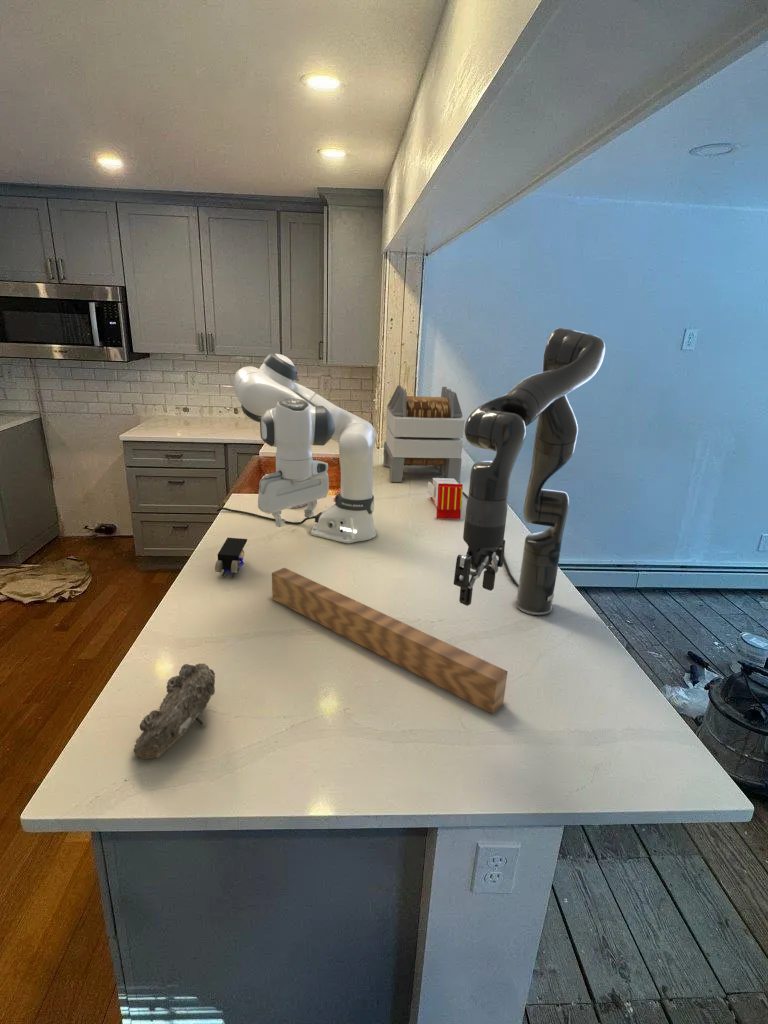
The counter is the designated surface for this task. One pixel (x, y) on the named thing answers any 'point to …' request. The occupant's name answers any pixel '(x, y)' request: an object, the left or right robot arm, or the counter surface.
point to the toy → (446, 497)
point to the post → (394, 640)
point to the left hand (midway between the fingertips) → (294, 521)
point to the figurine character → (230, 556)
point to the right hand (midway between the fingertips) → (476, 596)
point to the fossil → (176, 710)
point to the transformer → (423, 433)
